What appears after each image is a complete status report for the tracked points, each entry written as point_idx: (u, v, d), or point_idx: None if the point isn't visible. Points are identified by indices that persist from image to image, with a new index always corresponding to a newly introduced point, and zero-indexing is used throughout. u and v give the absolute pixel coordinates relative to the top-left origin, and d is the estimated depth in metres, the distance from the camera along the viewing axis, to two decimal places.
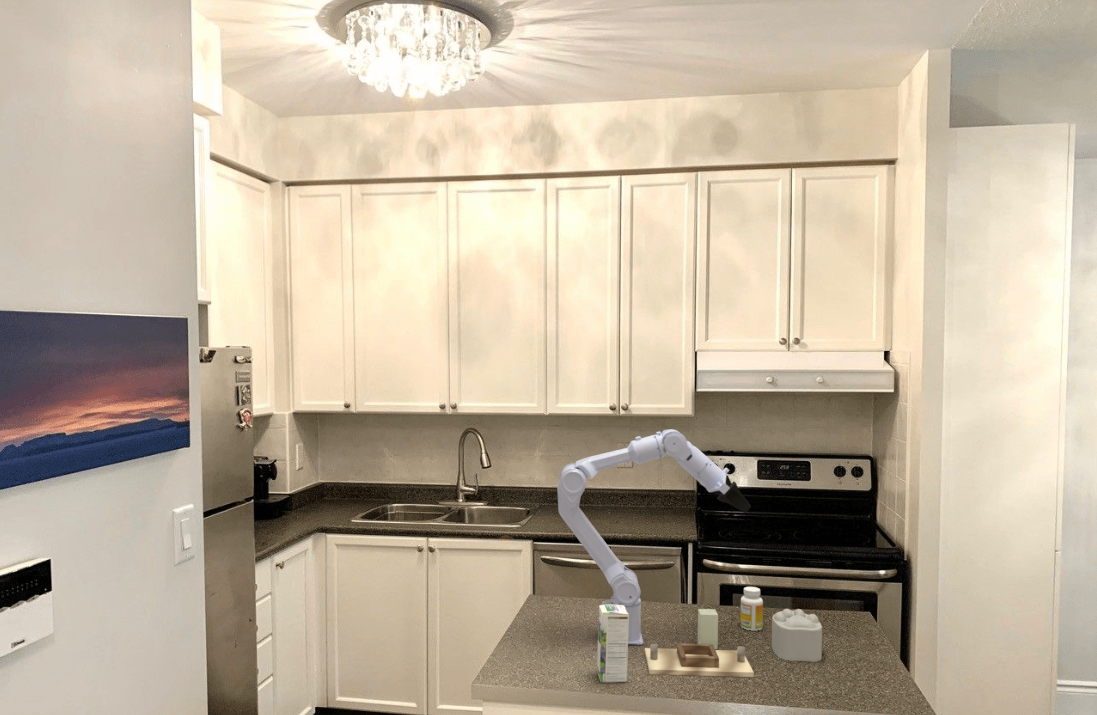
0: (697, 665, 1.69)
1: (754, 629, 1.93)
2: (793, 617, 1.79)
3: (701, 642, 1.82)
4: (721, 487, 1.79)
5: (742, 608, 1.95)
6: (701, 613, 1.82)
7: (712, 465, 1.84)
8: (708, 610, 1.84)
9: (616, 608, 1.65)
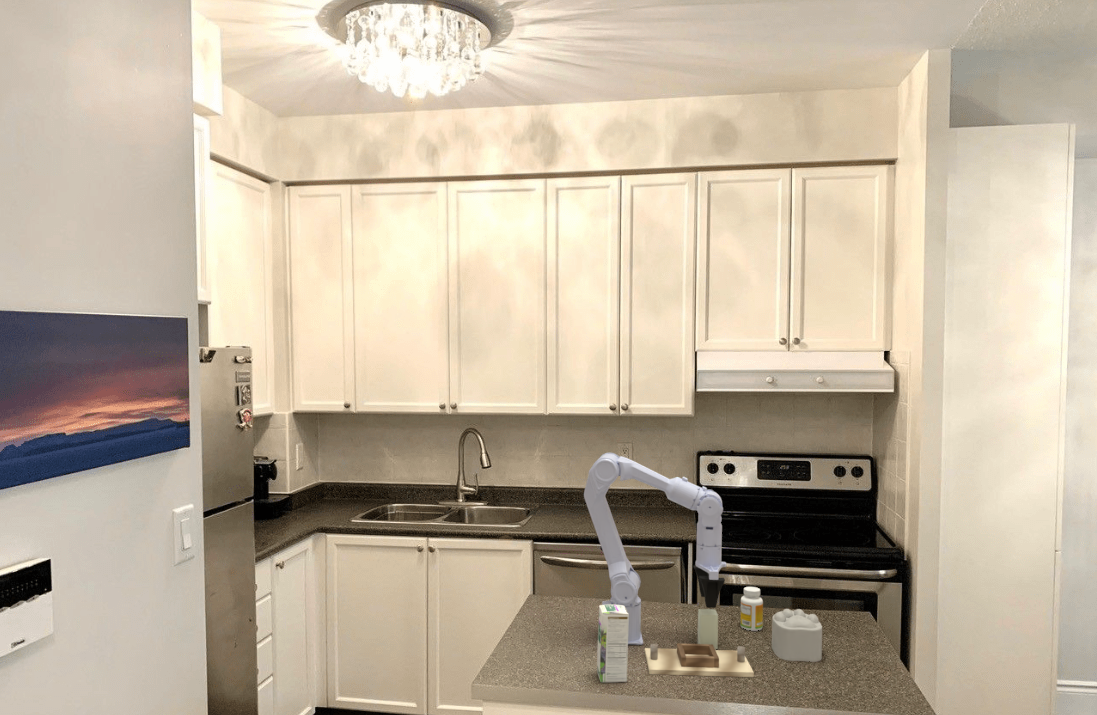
0: (697, 665, 1.69)
1: (754, 629, 1.93)
2: (793, 617, 1.79)
3: (701, 642, 1.82)
4: (713, 573, 1.76)
5: (742, 608, 1.95)
6: (701, 613, 1.82)
7: (719, 550, 1.81)
8: (708, 610, 1.84)
9: (616, 608, 1.65)
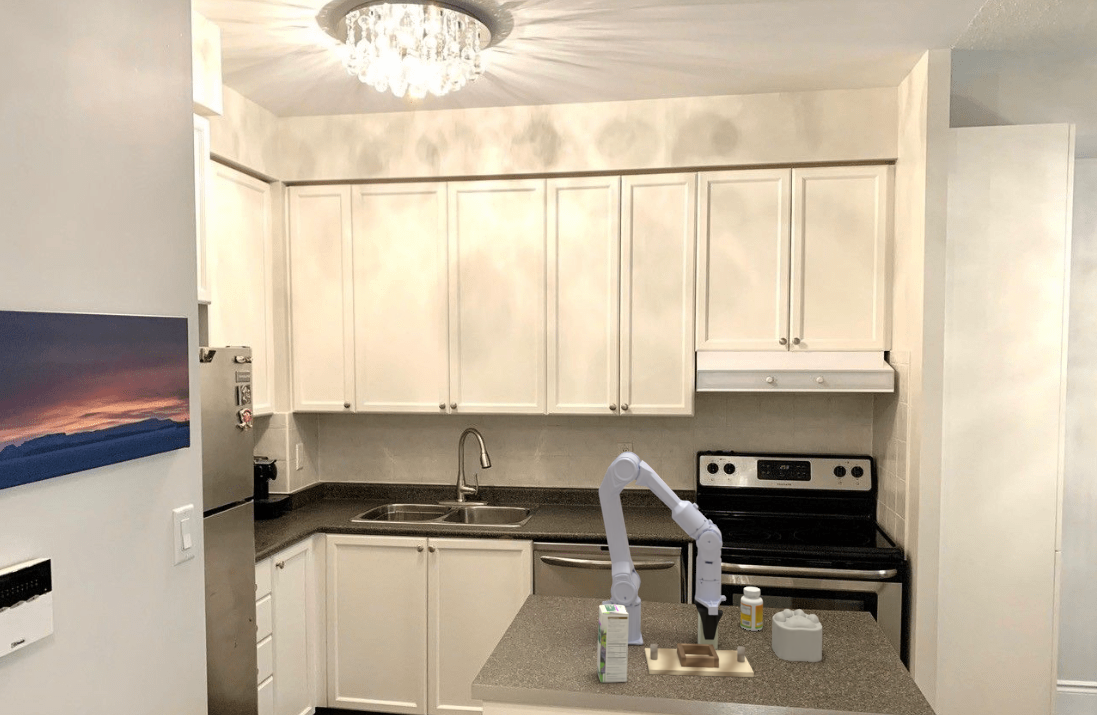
0: (697, 665, 1.69)
1: (754, 629, 1.93)
2: (793, 617, 1.79)
3: (701, 642, 1.82)
4: (712, 608, 1.76)
5: (742, 608, 1.95)
6: None
7: (719, 585, 1.81)
8: None
9: (616, 608, 1.65)
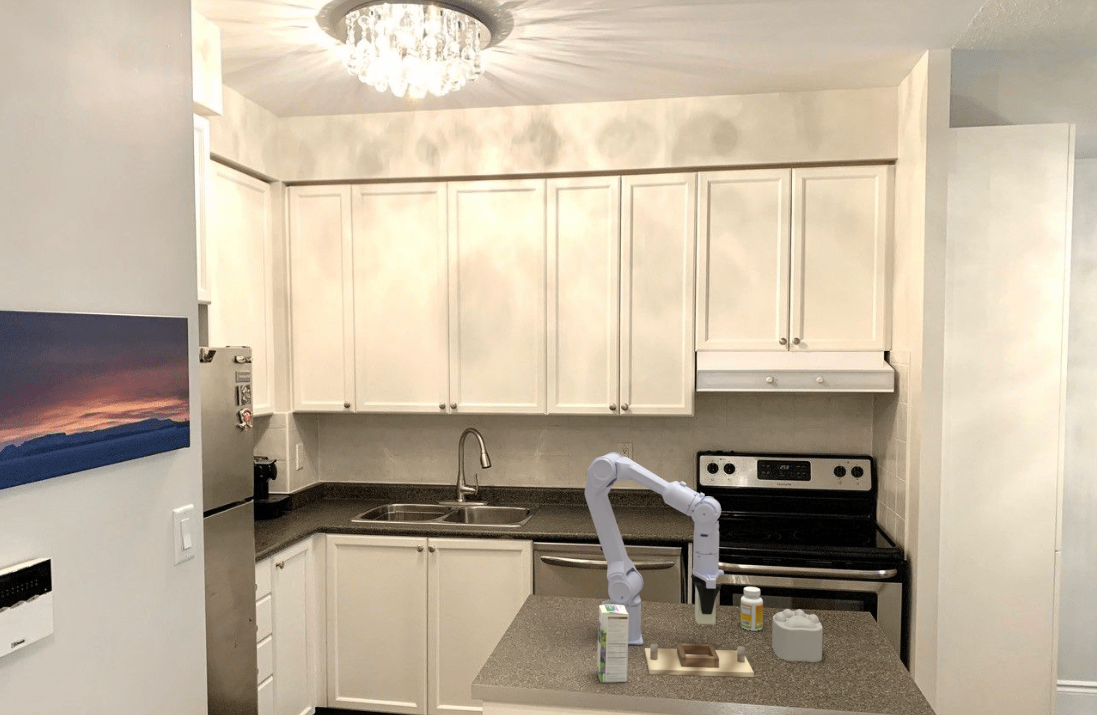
0: (697, 665, 1.69)
1: (754, 629, 1.93)
2: (793, 617, 1.79)
3: (699, 617, 1.78)
4: (710, 581, 1.73)
5: (742, 608, 1.95)
6: None
7: (717, 558, 1.78)
8: None
9: (616, 608, 1.65)
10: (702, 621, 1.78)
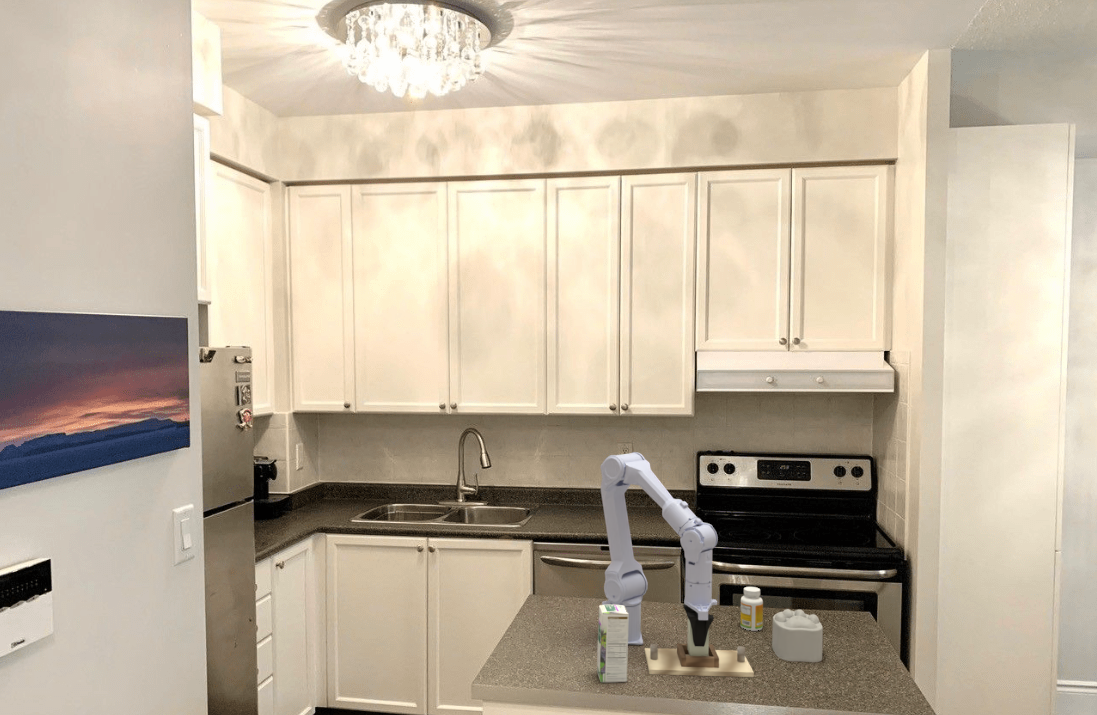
0: (697, 665, 1.69)
1: (754, 629, 1.93)
2: (794, 617, 1.79)
3: (691, 649, 1.71)
4: (702, 613, 1.65)
5: (742, 608, 1.95)
6: None
7: (709, 588, 1.71)
8: None
9: (616, 608, 1.65)
10: (694, 653, 1.71)
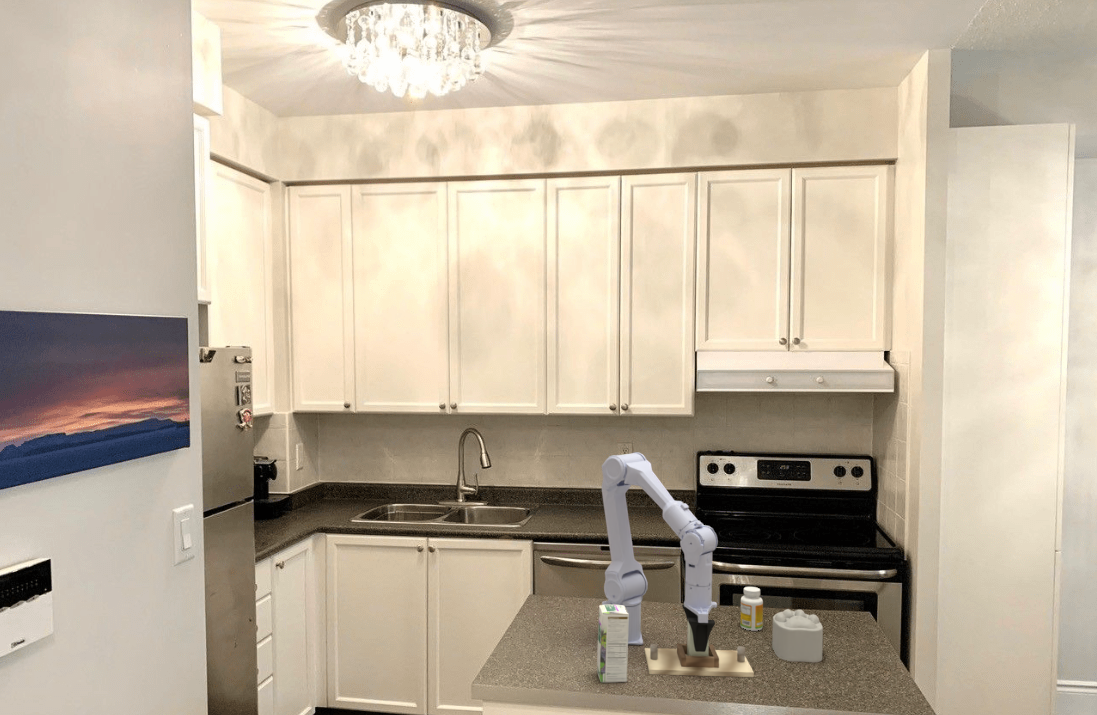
0: (697, 665, 1.69)
1: (754, 629, 1.93)
2: (794, 617, 1.79)
3: None
4: (702, 615, 1.65)
5: (742, 608, 1.95)
6: None
7: (709, 590, 1.71)
8: None
9: (616, 608, 1.65)
10: None
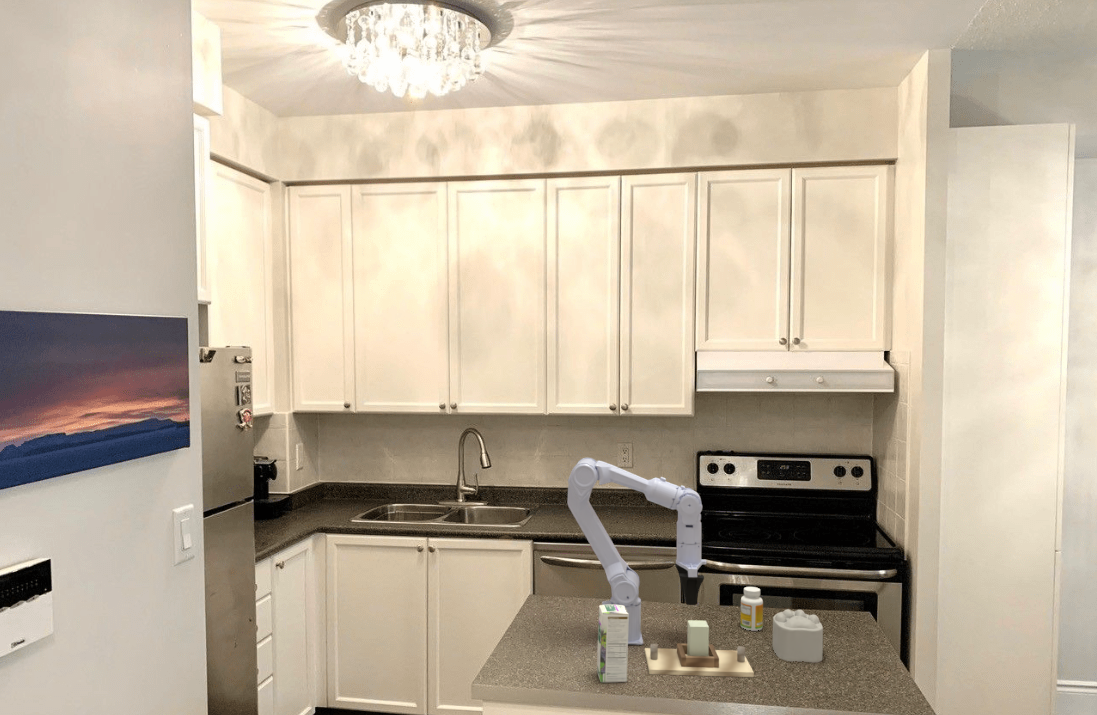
0: (697, 665, 1.69)
1: (754, 629, 1.93)
2: (794, 618, 1.78)
3: None
4: (692, 570, 1.78)
5: (742, 608, 1.95)
6: (691, 625, 1.71)
7: (699, 548, 1.83)
8: (698, 622, 1.74)
9: (616, 608, 1.65)
10: None
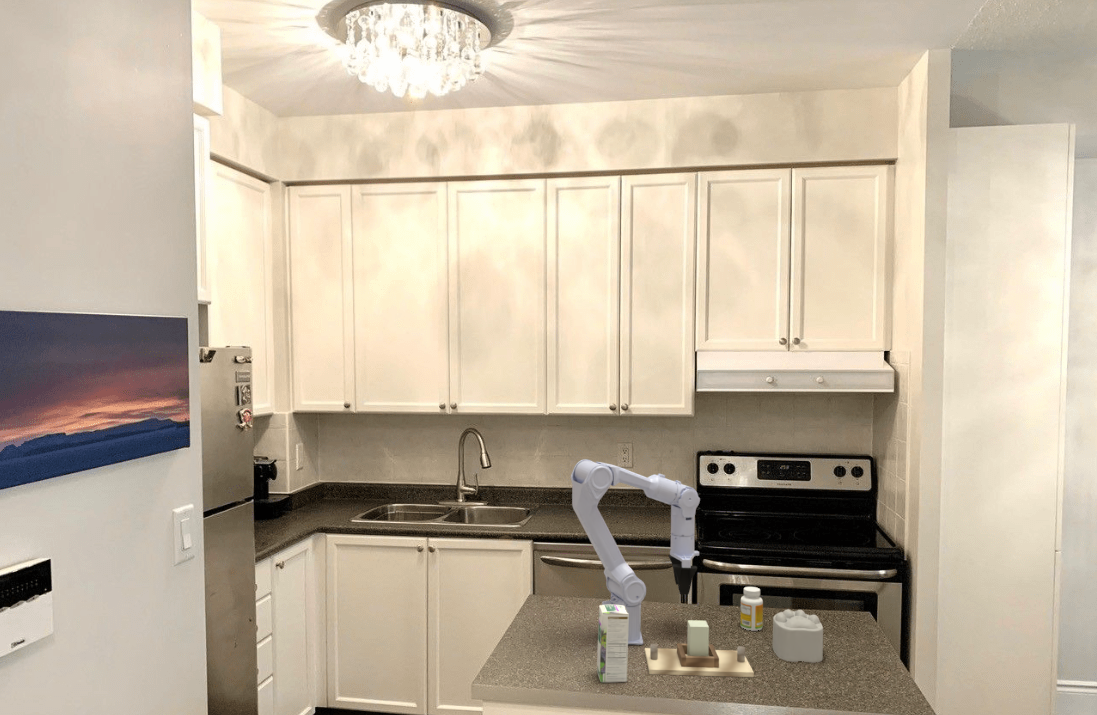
0: (697, 665, 1.69)
1: (754, 629, 1.93)
2: (794, 618, 1.78)
3: None
4: (685, 561, 1.85)
5: (742, 608, 1.95)
6: (691, 625, 1.71)
7: (692, 540, 1.91)
8: (698, 622, 1.74)
9: (616, 608, 1.65)
10: None
